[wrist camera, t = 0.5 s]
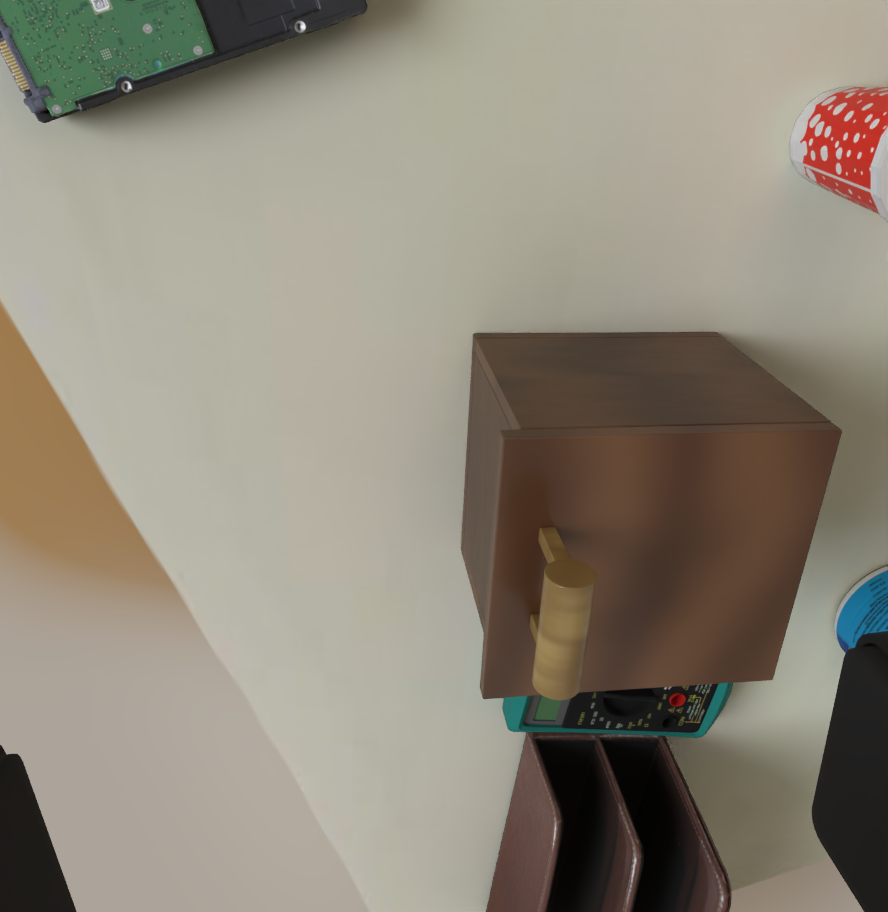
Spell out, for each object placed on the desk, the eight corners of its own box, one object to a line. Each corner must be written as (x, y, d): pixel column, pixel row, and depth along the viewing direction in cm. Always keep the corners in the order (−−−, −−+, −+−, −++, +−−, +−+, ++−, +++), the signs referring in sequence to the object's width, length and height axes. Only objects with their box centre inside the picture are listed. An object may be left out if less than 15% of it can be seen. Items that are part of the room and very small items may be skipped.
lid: (479, 687, 40) (501, 777, 36) (499, 429, 34) (529, 496, 29) (765, 668, 42) (822, 752, 37) (832, 421, 36) (911, 483, 31)
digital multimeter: (697, 715, 60) (715, 746, 57) (496, 706, 57) (505, 739, 54) (731, 632, 57) (751, 661, 54) (520, 619, 54) (530, 649, 51)
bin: (460, 549, 51) (497, 685, 40) (473, 333, 45) (520, 427, 34) (676, 540, 53) (764, 668, 42) (716, 331, 47) (831, 421, 36)
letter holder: (661, 723, 60) (751, 907, 48) (602, 906, 69) (666, 1102, 56) (525, 724, 58) (582, 915, 46) (483, 912, 67) (521, 1115, 54)
